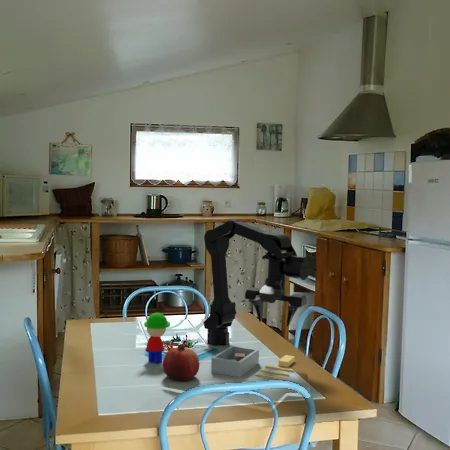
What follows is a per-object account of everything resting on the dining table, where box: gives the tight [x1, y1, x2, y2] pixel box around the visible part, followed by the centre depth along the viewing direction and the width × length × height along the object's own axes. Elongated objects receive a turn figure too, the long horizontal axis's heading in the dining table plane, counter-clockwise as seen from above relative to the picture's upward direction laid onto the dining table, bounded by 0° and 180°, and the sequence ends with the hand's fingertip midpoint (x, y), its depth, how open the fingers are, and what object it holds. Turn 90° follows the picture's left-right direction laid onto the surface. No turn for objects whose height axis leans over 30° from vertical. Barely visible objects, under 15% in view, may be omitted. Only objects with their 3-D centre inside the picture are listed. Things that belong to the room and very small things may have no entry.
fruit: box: [162, 343, 200, 382], centre depth 161 cm, size 11×10×10 cm
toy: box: [143, 312, 171, 364], centre depth 177 cm, size 8×8×15 cm
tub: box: [210, 345, 260, 378], centre depth 171 cm, size 14×9×5 cm, turn 154°
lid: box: [254, 354, 295, 381], centre depth 169 cm, size 20×10×2 cm, turn 154°
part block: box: [235, 353, 245, 361], centre depth 173 cm, size 3×3×3 cm
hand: (274, 323), depth 180 cm, fingers open, 9 cm apart
